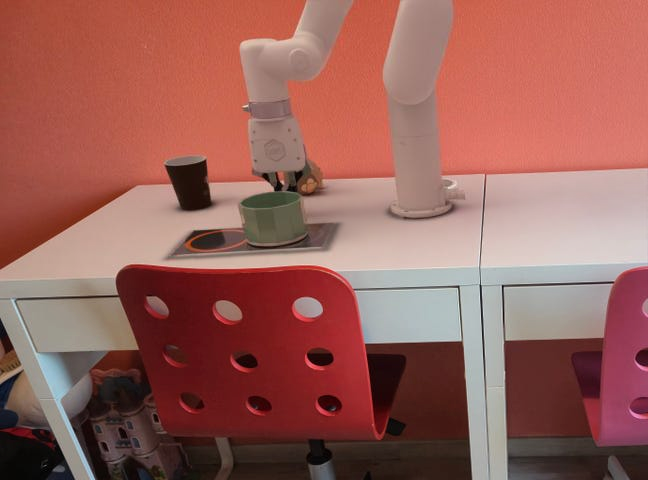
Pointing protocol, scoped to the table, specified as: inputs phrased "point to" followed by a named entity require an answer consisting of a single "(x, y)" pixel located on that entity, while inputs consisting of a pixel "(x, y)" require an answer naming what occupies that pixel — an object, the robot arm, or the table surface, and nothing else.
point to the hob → (243, 241)
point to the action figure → (308, 180)
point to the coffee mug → (190, 181)
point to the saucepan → (273, 218)
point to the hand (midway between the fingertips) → (288, 203)
